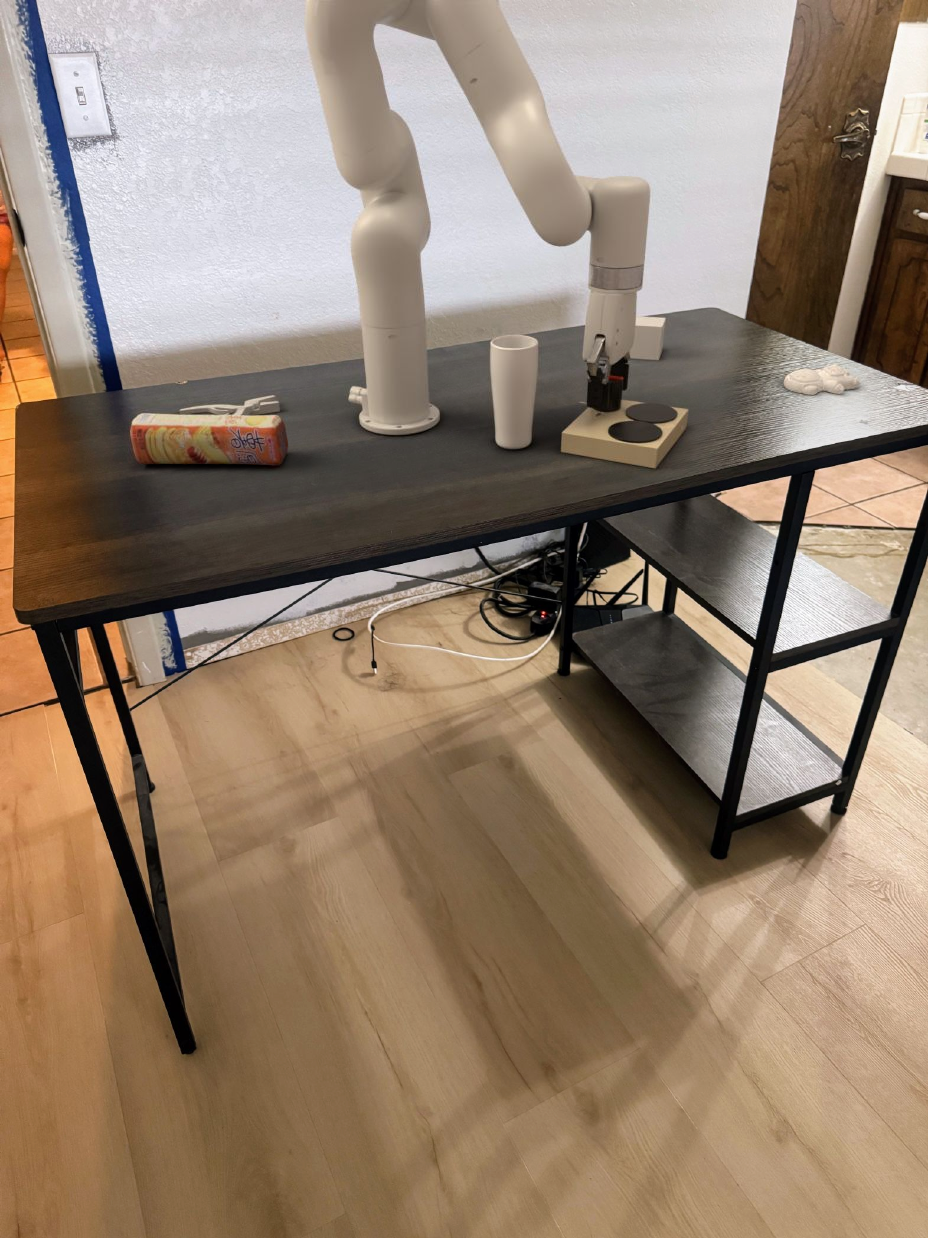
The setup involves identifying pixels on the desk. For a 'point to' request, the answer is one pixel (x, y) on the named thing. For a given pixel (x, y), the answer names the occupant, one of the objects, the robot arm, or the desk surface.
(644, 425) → the burner
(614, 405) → the hob knob
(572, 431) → the hot plate
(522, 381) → the drinking glass
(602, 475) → the desk surface
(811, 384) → the astronaut figurine
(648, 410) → the burner
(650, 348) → the white cube
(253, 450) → the snack package
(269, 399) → the pliers
